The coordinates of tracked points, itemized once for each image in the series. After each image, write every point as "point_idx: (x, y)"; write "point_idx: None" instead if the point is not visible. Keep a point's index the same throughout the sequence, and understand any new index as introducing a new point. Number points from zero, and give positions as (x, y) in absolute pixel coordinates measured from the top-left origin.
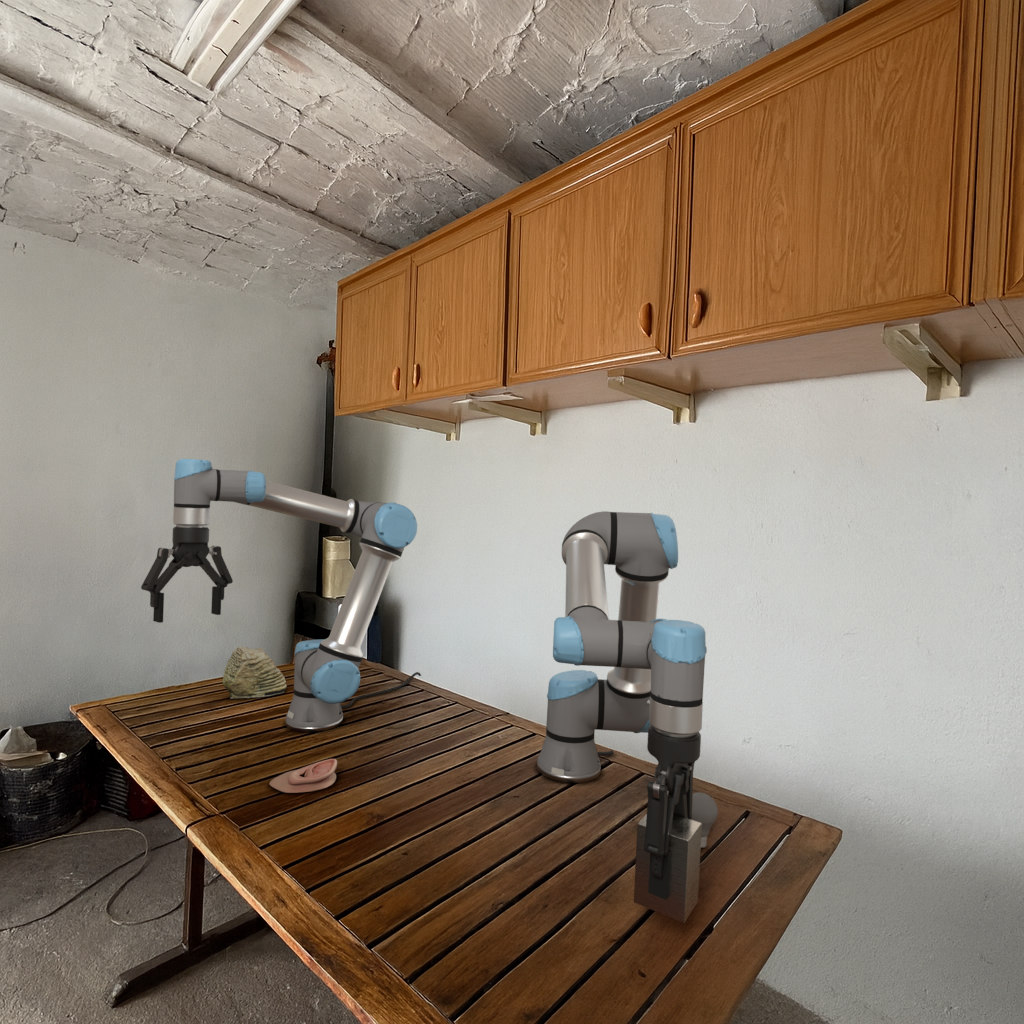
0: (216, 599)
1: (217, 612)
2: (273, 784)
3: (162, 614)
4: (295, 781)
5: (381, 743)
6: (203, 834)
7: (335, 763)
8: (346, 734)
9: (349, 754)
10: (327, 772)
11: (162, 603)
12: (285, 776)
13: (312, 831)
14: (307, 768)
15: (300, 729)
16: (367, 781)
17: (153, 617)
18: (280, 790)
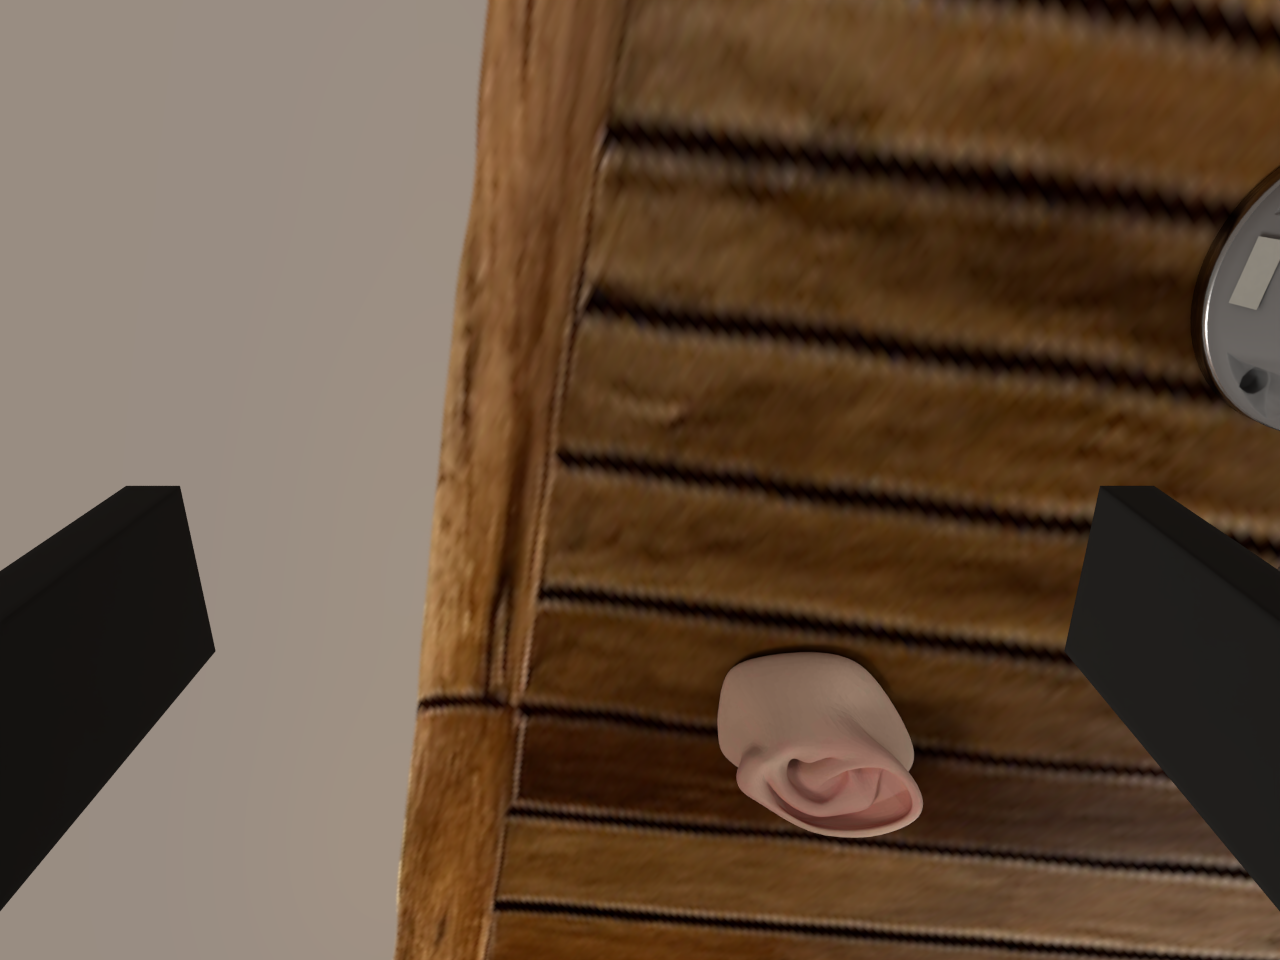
0: (1231, 778)
1: (1084, 666)
2: (725, 698)
3: (140, 725)
4: (744, 792)
5: None
6: (427, 768)
7: (896, 828)
8: (1266, 518)
9: None
10: (843, 832)
11: (6, 872)
12: (761, 727)
13: (627, 931)
14: (835, 756)
15: (1198, 347)
16: (935, 849)
17: (91, 512)
18: (718, 733)
